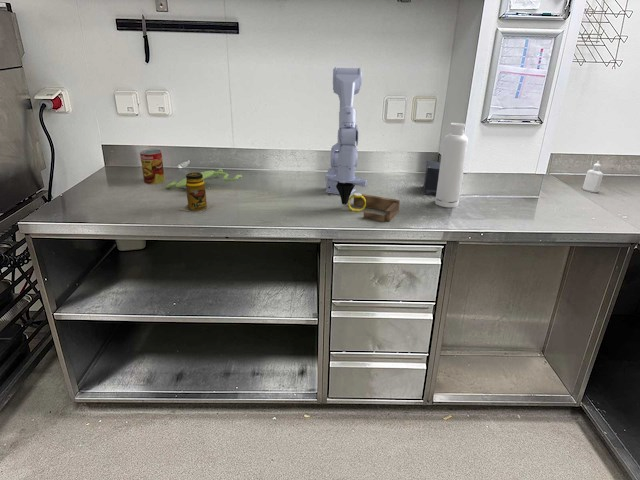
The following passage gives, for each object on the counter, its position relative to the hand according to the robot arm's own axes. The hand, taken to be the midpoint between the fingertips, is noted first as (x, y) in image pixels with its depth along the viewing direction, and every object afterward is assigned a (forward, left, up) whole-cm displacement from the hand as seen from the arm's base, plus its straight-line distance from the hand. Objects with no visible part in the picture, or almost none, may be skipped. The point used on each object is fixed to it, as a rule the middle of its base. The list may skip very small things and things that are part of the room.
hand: (344, 203), depth 151 cm
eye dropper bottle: (+78, +65, -2) cm, 102 cm away
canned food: (-79, -8, -2) cm, 79 cm away
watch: (+4, 0, -2) cm, 5 cm away
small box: (+22, +34, -2) cm, 41 cm away
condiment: (-45, -24, -2) cm, 51 cm away
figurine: (-57, -3, -2) cm, 57 cm away
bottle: (+30, +22, -2) cm, 38 cm away
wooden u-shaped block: (+9, 0, -2) cm, 10 cm away
